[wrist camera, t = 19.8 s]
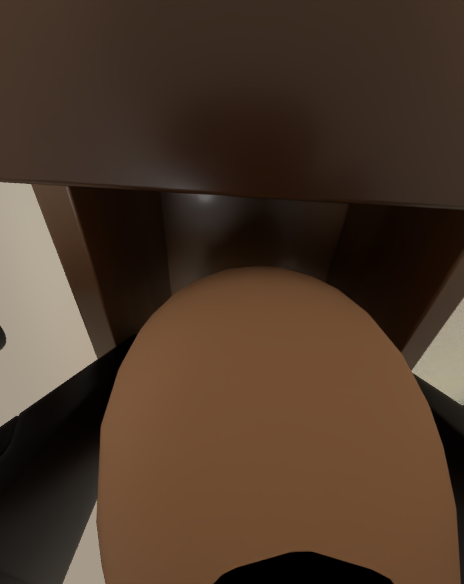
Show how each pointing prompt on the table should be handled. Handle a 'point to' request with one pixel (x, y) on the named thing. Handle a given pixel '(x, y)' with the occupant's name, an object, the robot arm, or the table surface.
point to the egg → (271, 445)
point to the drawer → (253, 254)
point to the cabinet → (237, 98)
